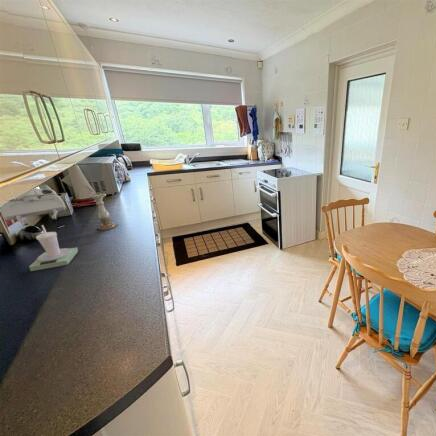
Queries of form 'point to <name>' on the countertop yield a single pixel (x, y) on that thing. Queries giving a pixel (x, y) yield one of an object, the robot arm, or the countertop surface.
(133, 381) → the countertop surface
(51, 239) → the smoothie
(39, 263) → the scale
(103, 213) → the candle holder
